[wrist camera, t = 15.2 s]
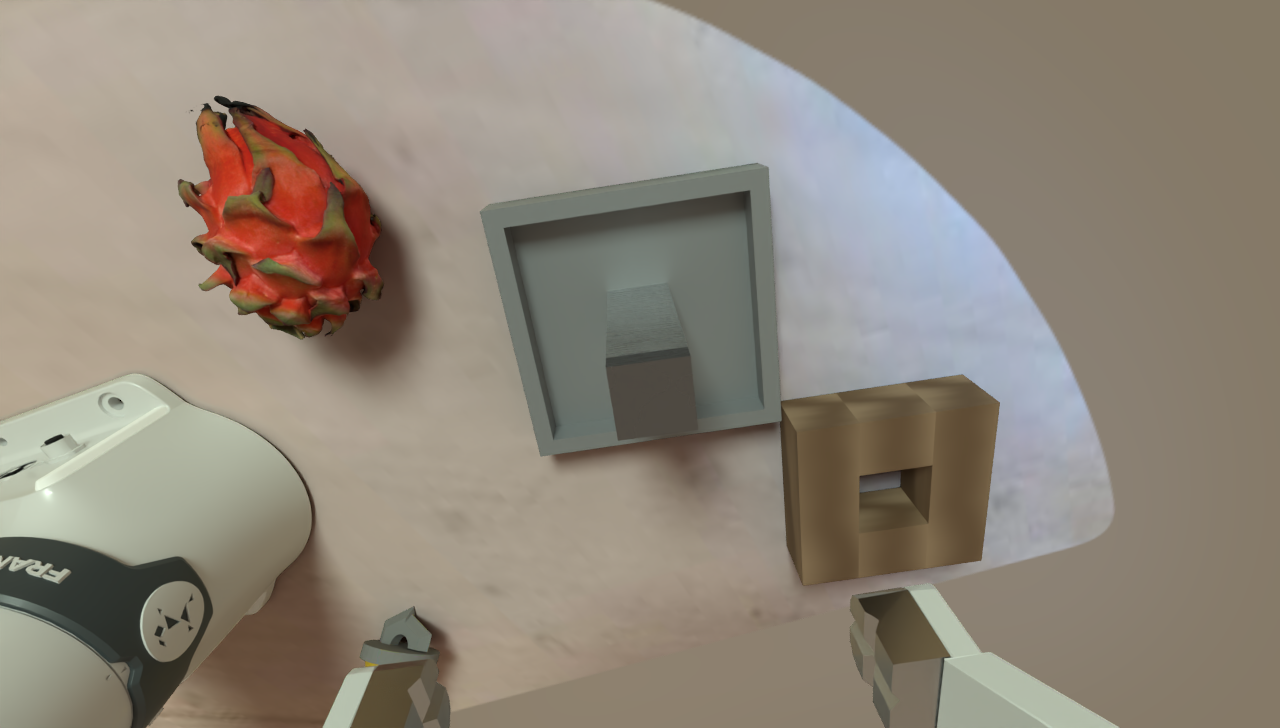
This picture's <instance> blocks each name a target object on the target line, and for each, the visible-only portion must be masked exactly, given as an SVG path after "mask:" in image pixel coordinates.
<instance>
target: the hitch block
mask: <svg viewBox="0 0 1280 728" xmlns="http://www.w3.org/2000/svg"><path fill="white" fill-rule="evenodd" d="M999 406H1000V402H998V401H997V400H996V399H994V398H993V397H992V396H990V395H989V394H988V393H986V392H985V391H984V390H982V389H981V388H980V387H979V386H977V385H976V384H975V383H973V382H972V381H971V380H969V379H968V378H967V377H965V376H964V375H963V374H962V375H956V376H949V377H942V378H935V379H928V380H922V381H915V382H908V383H901V384H894V385H888V386H881V387H874V388H867V389H860V390H854V391H847V392H840V393H833V394H826V395H820V396H813V397H806V398H799V399H792V400H786V401H781V419H782V421H780V428H781V447H782V465H783V484H784V503H785V522H786V540H787V547H788V550H789V552H790V555H791V557H792V560H793V562H794V565H795V567H796V570H797V572H798V575H799V577H800V580H801V582H802V585H803V586H805V585H812V584H819V583H827V582H834V581H841V580H848V579H855V578H862V577H869V576H876V575H883V574H890V573H897V572H904V571H911V570H918V569H925V568H932V567H939V566H946V565H953V564H961V563H968V562H975V561H981V559H982V551H983V542H984V534H985V525H986V517H987V508H988V500H989V491H990V483H991V474H992V466H993V457H994V449H995V440H996V432H997V423H998V415H999ZM897 470H901V487H899V488H892V489H885V490H878V491H871V492H864V493H859V477H860V476H862V475H869V474H876V473H883V472H890V471H897Z"/></svg>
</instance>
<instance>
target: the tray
mask: <svg viewBox="0 0 1280 728" xmlns="http://www.w3.org/2000/svg"><path fill="white" fill-rule="evenodd" d="M480 214H481V218H482V222H483V226H484V230H485V234H486V238H487V242H488V246H489V250H490V254H491V258H492V262H493V266H494V271H495V275H496V279H497V283H498V287H499V291H500V295H501V299H502V303H503V307H504V311H505V315H506V319H507V323H508V327H509V331H510V335H511V339H512V343H513V347H514V351H515V355H516V359H517V363H518V367H519V371H520V375H521V379H522V383H523V387H524V391H525V395H526V399H527V404H528V408H529V412H530V416H531V420H532V424H533V428H534V432H535V436H536V440H537V444H538V448H539V452H540V456H548V455H555V454H561V453H568V452H575V451H582V450H589V449H596V448H602V447H609V446H616V445H623V444H630V443H636V442H643V441H650V440H657V439H664V438H671V437H677V436H684V435H691V434H698V433H705V432H712V431H718V430H725V429H732V428H739V427H746V426H752V425H759V424H766V423H773V422H780V421H782V419H781V399H780V380H779V361H778V342H777V323H776V303H775V284H774V265H773V246H772V227H771V207H770V188H769V169H768V167H767V166H764V165H761V164H758V163H754V164H748V165H742V166H735V167H729V168H722V169H716V170H709V171H703V172H696V173H690V174H683V175H677V176H670V177H664V178H657V179H651V180H644V181H638V182H631V183H625V184H618V185H612V186H605V187H599V188H592V189H586V190H579V191H573V192H566V193H560V194H553V195H547V196H540V197H534V198H527V199H521V200H514V201H508V202H501V203H495V204H489V205H488V206H486V207H485V208H484V209H483V210H481V211H480ZM662 283H668V286H669V290H670V293H671V296H672V299H673V302H674V305H675V308H676V312H677V315H678V318H679V321H680V324H681V327H682V330H683V333H684V337H685V340H686V343H687V346H688V349H689V352H690V355H691V364H692V374H693V383H694V393H695V403H696V412H697V422H698V430H694V431H687V432H680V433H672V434H665V435H658V436H650V437H643V438H635V439H628V440H621V441H618V438H617V432H616V426H615V421H614V415H613V409H612V403H611V397H610V391H609V385H608V379H607V373H606V330H607V291H612V290H619V289H626V288H633V287H641V286H648V285H655V284H662Z"/></svg>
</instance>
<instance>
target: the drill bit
mask: <svg viewBox="0 0 1280 728" xmlns="http://www.w3.org/2000/svg"><path fill="white" fill-rule="evenodd" d="M403 636H405V637H406V638H407V641H408V643H405V642H400V640H401V638H402V637H403ZM431 636H432V634H431V633H430V632H429V631H428V630H427V629H426V628H425V627H424V626H423V625H422V624H421V623H420V622H419V621H418V620H417V619H416V618H415V610H414V606H413V607H411V608H409V609H408V610H406V611H404V612H402V613H400V614H398V615H396V616H394V617H392V618H390V619H388V620H386V621H385V624H384V628H383V631H382V634H381V638H380V640H369V641H365V642H364V644H363V647H362V651H361V654H360V658H361V659H362V660H364V661H365V667H369V666H377V665H383V664H391V663H399V662H407V661H416V660H424V659H434V661H435V663H436V665H437V661H438V657H439V653H440V652H439V651H438V650H436V649H433V648H430V647H429V644H430V640H431Z"/></svg>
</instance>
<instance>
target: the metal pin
mask: <svg viewBox="0 0 1280 728" xmlns="http://www.w3.org/2000/svg"><path fill="white" fill-rule="evenodd" d="M606 373H607V379H608V385H609V391H610V397H611V403H612V409H613V415H614V421H615V426H616V432H617V438H618V441H621V440H628V439H635V438H643V437H650V436H658V435H665V434H672V433H680V432H687V431H694V430H698V422H697V412H696V403H695V393H694V383H693V374H692V364H691V355H690V352H689V349H688V346H687V343H686V340H685V337H684V333H683V330H682V327H681V324H680V321H679V318H678V315H677V312H676V308H675V305H674V302H673V299H672V296H671V293H670V290H669V286H668V283H662V284H655V285H648V286H641V287H633V288H626V289H619V290H612V291H607V330H606Z"/></svg>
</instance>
